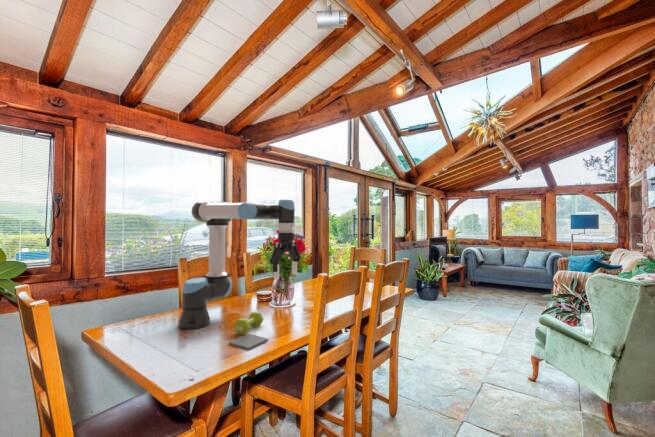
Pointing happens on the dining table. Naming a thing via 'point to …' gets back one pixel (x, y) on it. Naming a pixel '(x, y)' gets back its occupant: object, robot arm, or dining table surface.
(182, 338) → the dining table surface
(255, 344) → the trivet
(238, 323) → the dumbbell
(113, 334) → the dining table surface
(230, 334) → the dining table surface
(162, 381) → the dining table surface
